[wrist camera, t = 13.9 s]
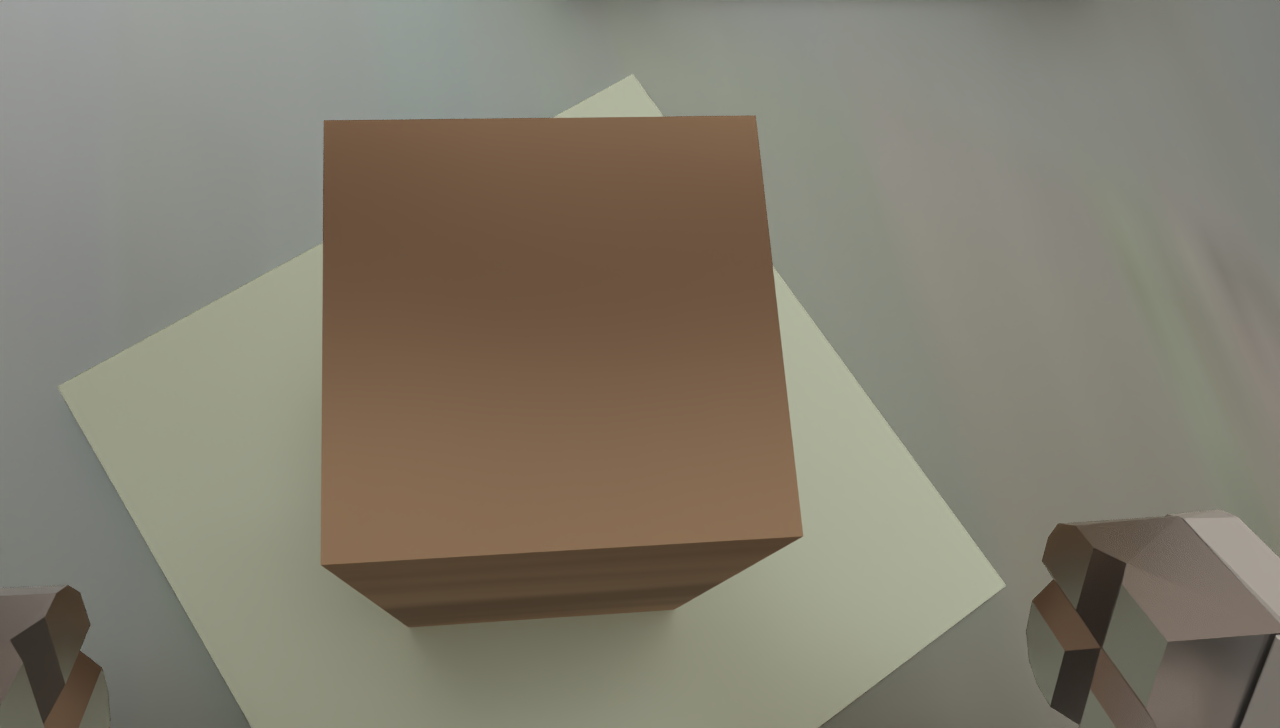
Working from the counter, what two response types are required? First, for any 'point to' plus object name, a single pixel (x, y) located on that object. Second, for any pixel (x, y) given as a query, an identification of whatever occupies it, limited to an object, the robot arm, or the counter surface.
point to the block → (549, 365)
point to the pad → (520, 649)
